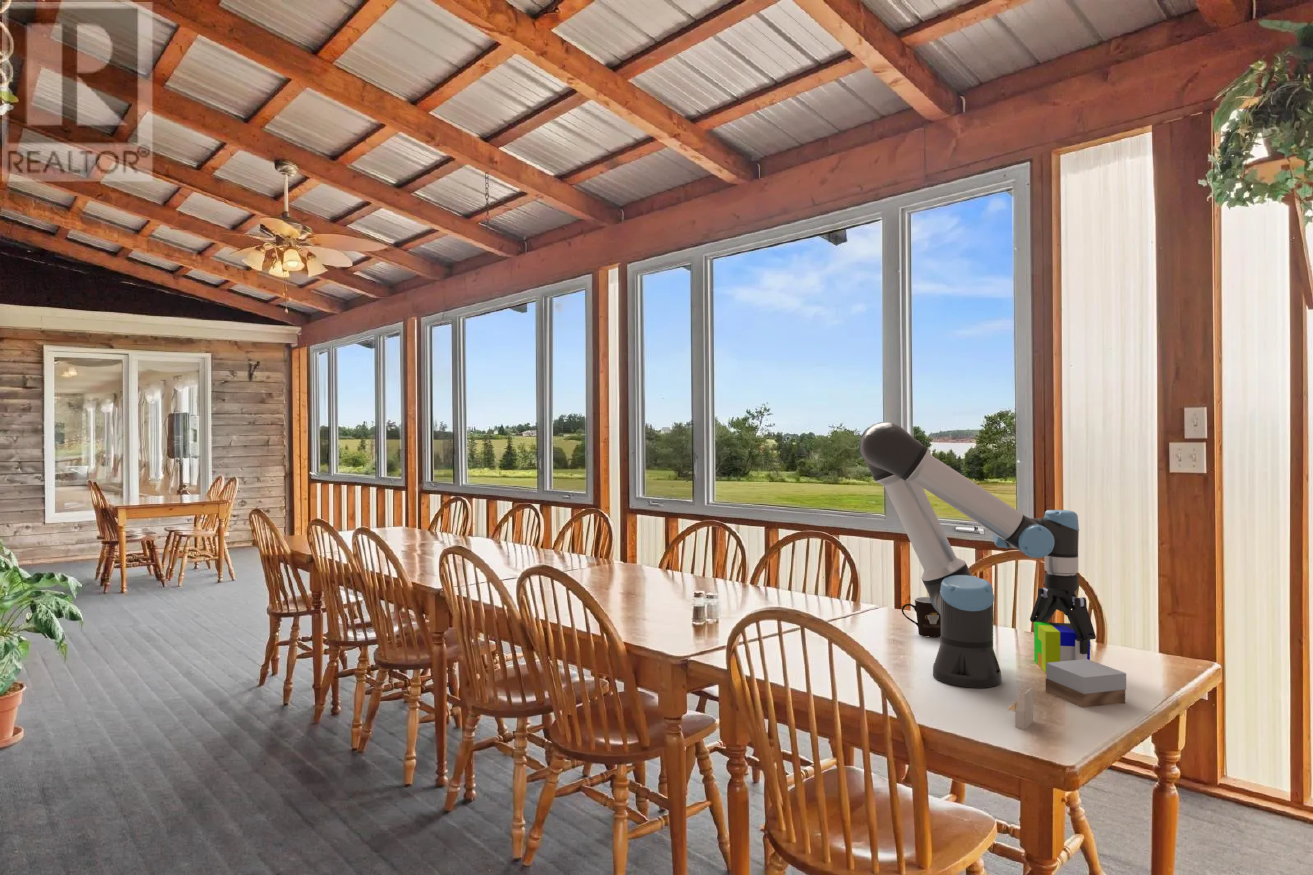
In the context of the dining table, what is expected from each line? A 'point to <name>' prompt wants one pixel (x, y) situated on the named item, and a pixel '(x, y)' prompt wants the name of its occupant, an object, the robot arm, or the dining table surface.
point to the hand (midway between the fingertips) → (1061, 659)
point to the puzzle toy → (1054, 643)
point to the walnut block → (1085, 695)
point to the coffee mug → (926, 617)
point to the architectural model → (1023, 708)
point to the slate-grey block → (1086, 676)
